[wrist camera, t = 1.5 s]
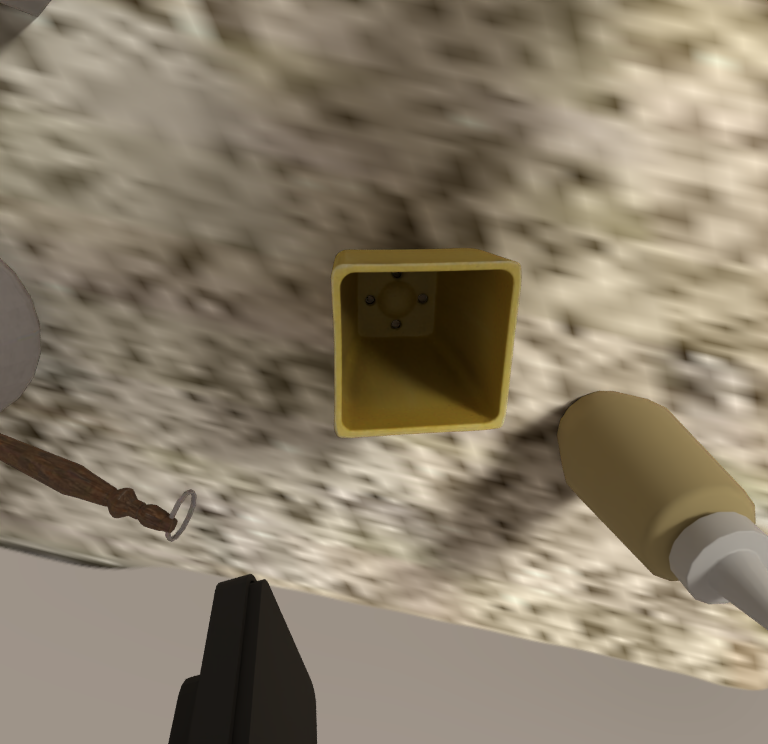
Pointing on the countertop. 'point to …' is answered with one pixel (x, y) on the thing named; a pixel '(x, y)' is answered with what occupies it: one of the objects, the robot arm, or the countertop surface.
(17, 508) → the countertop surface
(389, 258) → the flower pot
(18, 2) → the console
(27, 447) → the coffee pot
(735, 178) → the countertop surface
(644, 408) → the squeeze bottle
